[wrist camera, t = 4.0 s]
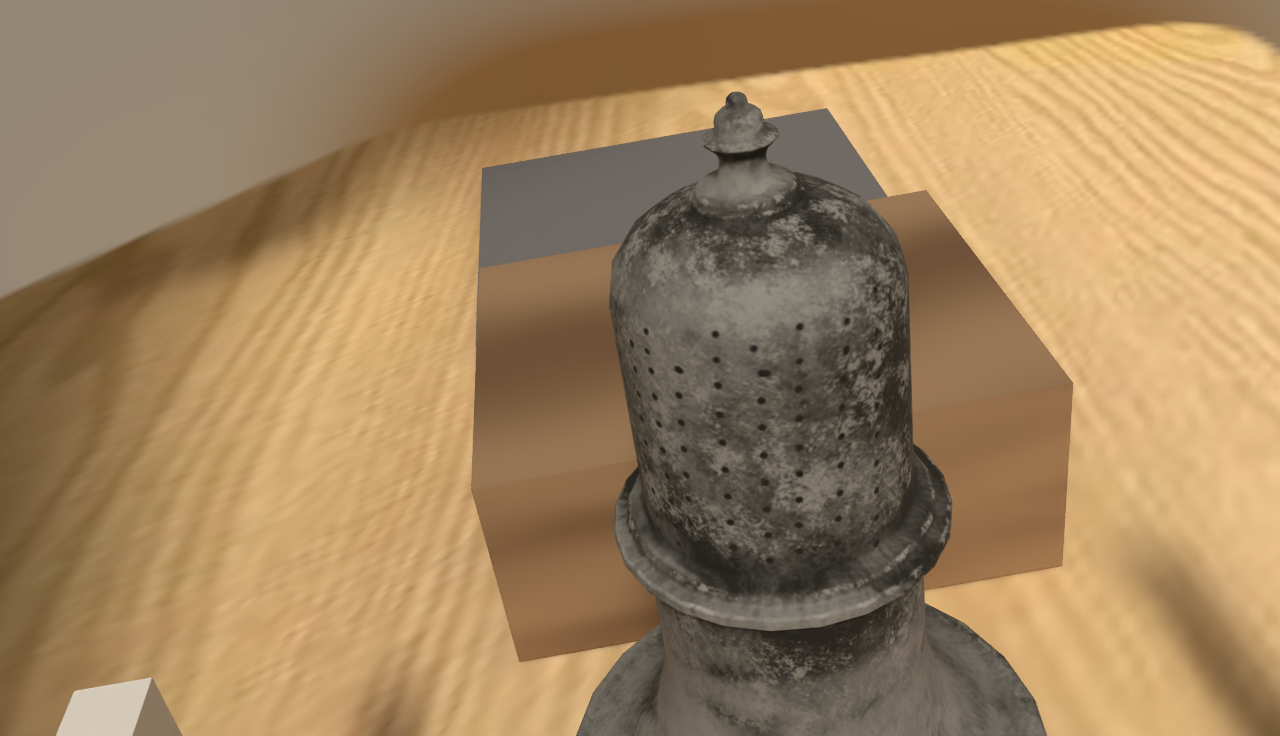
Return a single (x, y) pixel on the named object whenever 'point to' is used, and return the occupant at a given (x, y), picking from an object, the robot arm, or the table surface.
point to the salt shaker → (782, 473)
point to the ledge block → (605, 453)
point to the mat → (635, 186)
